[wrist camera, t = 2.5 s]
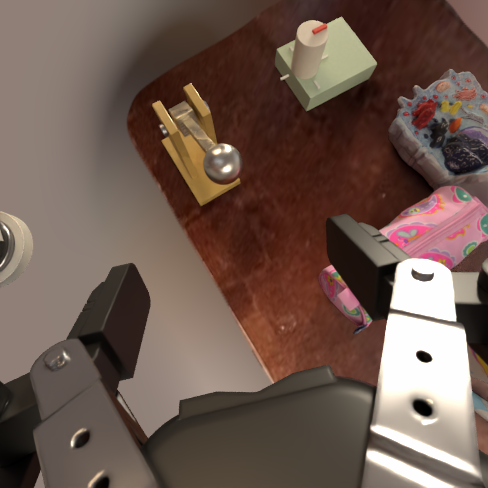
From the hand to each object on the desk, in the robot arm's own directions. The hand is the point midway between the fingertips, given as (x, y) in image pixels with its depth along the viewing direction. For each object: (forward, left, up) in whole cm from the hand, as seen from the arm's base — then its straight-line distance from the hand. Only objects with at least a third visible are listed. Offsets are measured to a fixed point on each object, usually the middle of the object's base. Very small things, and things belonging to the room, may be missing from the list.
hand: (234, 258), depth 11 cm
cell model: (+23, +27, -28) cm, 45 cm away
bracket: (-12, +16, -28) cm, 34 cm away
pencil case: (+18, +9, -28) cm, 35 cm away
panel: (+1, +36, -28) cm, 45 cm away
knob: (-1, +34, -25) cm, 42 cm away
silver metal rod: (-7, +12, -16) cm, 21 cm away
